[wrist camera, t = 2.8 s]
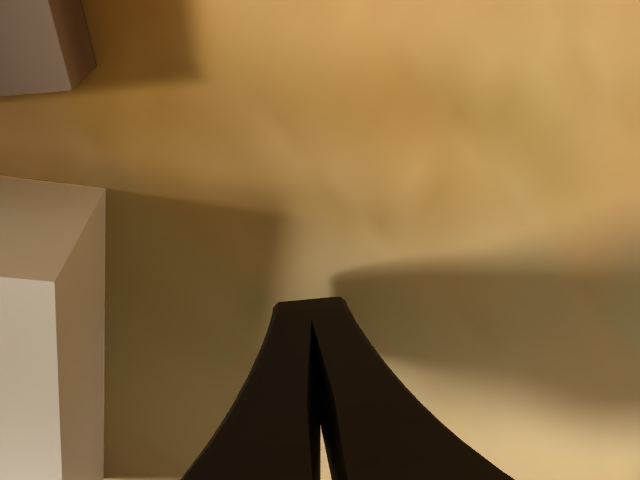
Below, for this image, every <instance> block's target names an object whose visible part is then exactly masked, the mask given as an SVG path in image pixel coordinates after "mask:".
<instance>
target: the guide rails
mask: <svg viewBox="0 0 640 480" xmlns="http://www.w3.org/2000/svg"><path fill="white" fill-rule="evenodd" d="M95 67H96V62H95V58H94V54H93V50H92V46H91V42H90V37H89V33H88V29H87V25H86V21H85V17H84V13H83V8H82V4H81V0H0V96H12V95H24V94H36V93H48V92H60V91H72V90H73V89H74V88H75V87H76V86H77V85H78V84H79V83H80V82H81V81H82V80H83V79H84V78H85V77H86V76H87V75H88V74H89V73H90V72H91V71H92V70H93V69H94V68H95Z"/></svg>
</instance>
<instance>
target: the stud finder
mask: <svg viewBox="0 0 640 480" xmlns="http://www.w3.org/2000/svg"><path fill="white" fill-rule="evenodd" d="M105 224H106V188H100V187H92V186H84V185H75V184H67V183H59V182H51V181H43V180H34V179H26V178H18V177H10V176H1V175H0V480H103V479H104V364H105Z"/></svg>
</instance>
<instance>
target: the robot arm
mask: <svg viewBox="0 0 640 480" xmlns="http://www.w3.org/2000/svg"><path fill="white" fill-rule="evenodd" d="M320 424H321V429H322V434H323V439H324V444H325V449H326V453H327V458H328V463H329V468H330V473H331V478H332V480H514V479H513V478H511V477H510V476H508V475H507V474H505V473H504V472H502V471H501V470H500V469H499V468H497V467H496V466H495V465H493V464H492V463H491V462H489V461H488V460H487V459H485V458H484V457H483V456H481V455H480V454H479V453H478V452H476V451H475V450H474V449H472V448H471V447H470V446H468V445H467V444H466V443H464V442H463V441H462V440H461V439H460V438H458V437H457V436H456V435H455V434H454V433H453V432H452V431H450V430H449V429H448V428H447V427H446V426H445V425H444V424H442V423H441V422H440V421H439V420H438V419H437V418H436V417H435V416H434V415H433V414H432V413H431V412H430V411H429V410H427V409H426V408H425V407H424V406H423V405H422V404H421V403H420V402H419V401H418V400H417V398H416V397H415V396H414V395H413V394H412V393H411V392H410V391H409V390H408V389H407V388H406V387H405V385H404V384H403V383H402V382H401V381H400V380H399V379H398V378H397V376H396V375H395V374H394V373H393V372H392V370H391V369H390V368H389V367H388V366H387V364H386V363H385V362H384V360H383V359H382V358H381V357H380V355H379V354H378V353H377V351H376V350H375V349H374V347H373V346H372V345H371V343H370V342H369V340H368V339H367V338H366V336H365V335H364V333H363V332H362V330H361V329H360V327H359V325H358V324H357V322H356V321H355V319H354V317H353V315H352V314H351V312H350V310H349V308H348V306H347V304H346V301H345V300H344V299H342V298H341V297H329V298H319V299H308V300H298V301H288V302H278V303H277V304H276V305H275V306H274V308H273V313H272V317H271V321H270V324H269V327H268V330H267V333H266V336H265V339H264V341H263V344H262V346H261V349H260V351H259V353H258V355H257V358H256V360H255V362H254V364H253V367H252V369H251V371H250V373H249V375H248V377H247V379H246V381H245V383H244V385H243V387H242V388H241V390H240V392H239V394H238V396H237V398H236V400H235V401H234V403H233V405H232V407H231V408H230V410H229V412H228V413H227V415H226V417H225V418H224V420H223V422H222V423H221V425H220V426H219V428H218V429H217V431H216V432H215V434H214V435H213V437H212V438H211V440H210V441H209V443H208V444H207V445H206V447H205V448H204V449H203V451H202V452H201V453H200V455H199V456H198V457H197V459H196V460H195V461H194V463H193V464H192V465H191V467H190V468H189V469H188V471H187V472H186V473H185V474H184V476H183V477H182V478H181V479H180V480H320Z"/></svg>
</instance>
